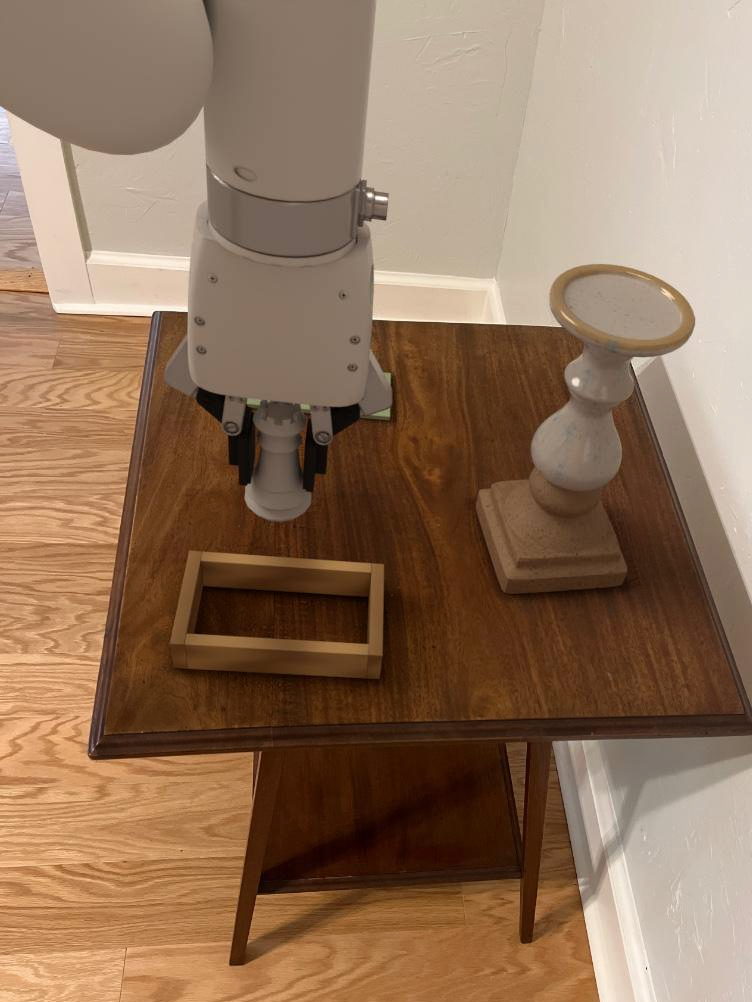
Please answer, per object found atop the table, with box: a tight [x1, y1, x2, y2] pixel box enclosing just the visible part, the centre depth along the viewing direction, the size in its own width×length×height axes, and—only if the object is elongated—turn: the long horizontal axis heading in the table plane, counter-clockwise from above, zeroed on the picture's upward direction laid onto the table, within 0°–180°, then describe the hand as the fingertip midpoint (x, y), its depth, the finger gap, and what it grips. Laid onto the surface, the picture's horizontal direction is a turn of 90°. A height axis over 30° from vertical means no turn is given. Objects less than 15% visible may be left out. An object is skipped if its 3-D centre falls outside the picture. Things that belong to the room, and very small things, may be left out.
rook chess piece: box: [243, 400, 312, 523], centre depth 58 cm, size 4×4×8 cm
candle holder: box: [475, 263, 696, 595], centre depth 71 cm, size 11×11×24 cm
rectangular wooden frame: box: [169, 550, 385, 680], centre depth 69 cm, size 15×9×3 cm, turn 92°
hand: (278, 472), depth 59 cm, fingers closed on rook chess piece, 3 cm apart
